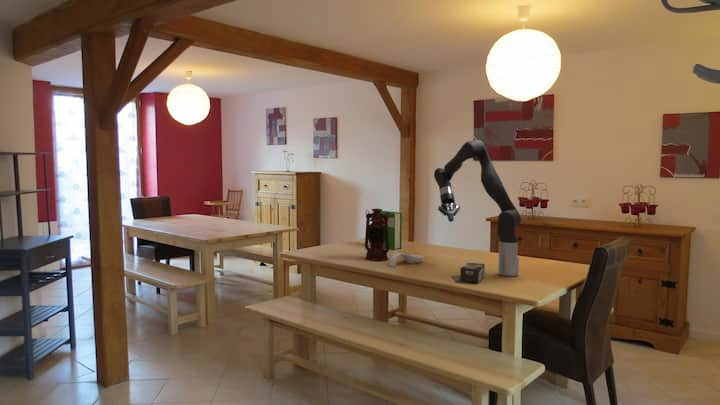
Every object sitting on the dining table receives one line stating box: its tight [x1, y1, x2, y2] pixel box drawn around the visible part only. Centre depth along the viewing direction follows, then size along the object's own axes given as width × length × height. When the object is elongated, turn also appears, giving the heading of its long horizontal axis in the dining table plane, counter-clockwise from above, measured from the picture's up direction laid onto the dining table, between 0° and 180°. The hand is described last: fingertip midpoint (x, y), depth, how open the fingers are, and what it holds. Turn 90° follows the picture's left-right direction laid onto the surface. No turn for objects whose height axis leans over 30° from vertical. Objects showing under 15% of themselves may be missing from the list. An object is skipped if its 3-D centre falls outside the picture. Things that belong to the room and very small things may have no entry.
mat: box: [450, 274, 482, 283], centre depth 248 cm, size 12×12×1 cm
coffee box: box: [459, 261, 486, 283], centre depth 247 cm, size 9×6×16 cm
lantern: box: [364, 208, 390, 262], centre depth 295 cm, size 17×14×30 cm
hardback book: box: [380, 210, 403, 251], centre depth 332 cm, size 18×7×24 cm, turn 44°
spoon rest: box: [388, 252, 425, 268], centre depth 283 cm, size 24×12×7 cm, turn 132°
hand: (451, 220), depth 272 cm, fingers closed
